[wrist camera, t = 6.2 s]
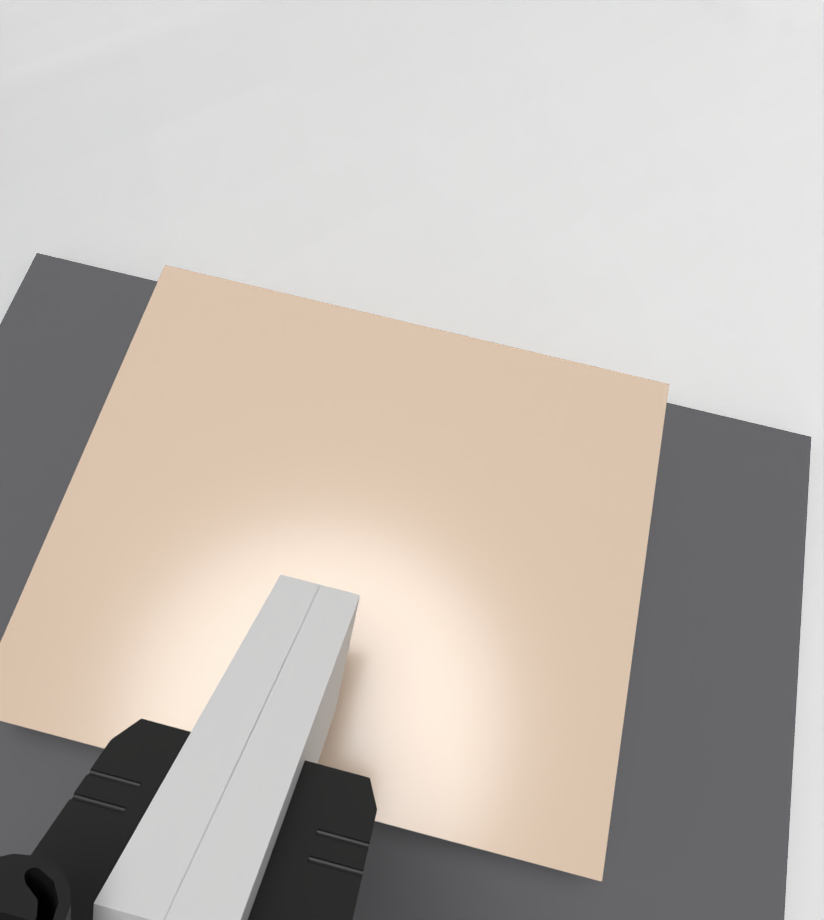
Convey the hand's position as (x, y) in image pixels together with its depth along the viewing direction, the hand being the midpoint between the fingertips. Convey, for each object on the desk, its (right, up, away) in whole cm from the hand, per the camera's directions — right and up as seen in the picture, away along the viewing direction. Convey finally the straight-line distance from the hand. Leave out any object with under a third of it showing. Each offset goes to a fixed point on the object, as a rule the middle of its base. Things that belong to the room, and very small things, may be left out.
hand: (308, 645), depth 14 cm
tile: (-1, -4, +3) cm, 5 cm away
